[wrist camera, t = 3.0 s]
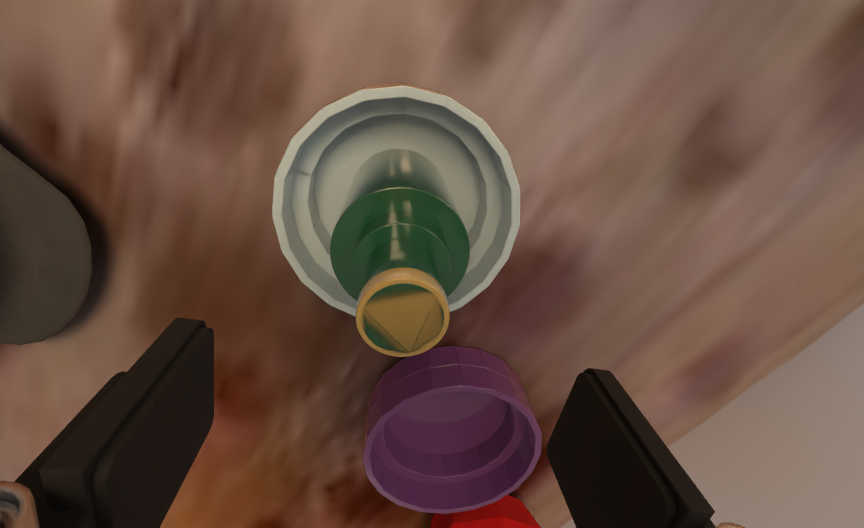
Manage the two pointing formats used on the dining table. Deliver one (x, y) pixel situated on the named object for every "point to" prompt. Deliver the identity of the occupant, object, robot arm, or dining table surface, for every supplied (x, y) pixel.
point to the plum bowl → (449, 431)
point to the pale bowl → (382, 130)
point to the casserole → (38, 255)
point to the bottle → (400, 251)
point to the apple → (489, 516)
